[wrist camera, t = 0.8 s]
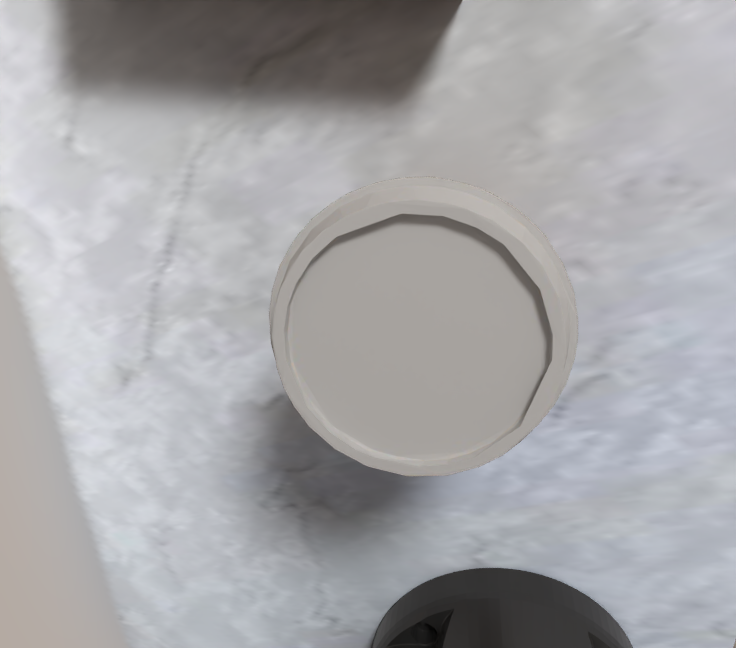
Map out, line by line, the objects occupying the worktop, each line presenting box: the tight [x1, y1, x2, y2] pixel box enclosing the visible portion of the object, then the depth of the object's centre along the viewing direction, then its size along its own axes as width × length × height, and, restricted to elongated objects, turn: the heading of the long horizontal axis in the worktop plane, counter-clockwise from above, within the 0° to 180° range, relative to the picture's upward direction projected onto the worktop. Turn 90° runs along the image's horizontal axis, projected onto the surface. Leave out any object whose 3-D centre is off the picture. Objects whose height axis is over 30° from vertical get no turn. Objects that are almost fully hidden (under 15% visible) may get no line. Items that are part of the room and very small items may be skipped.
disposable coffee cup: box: [269, 177, 578, 476], centre depth 24 cm, size 10×10×12 cm
